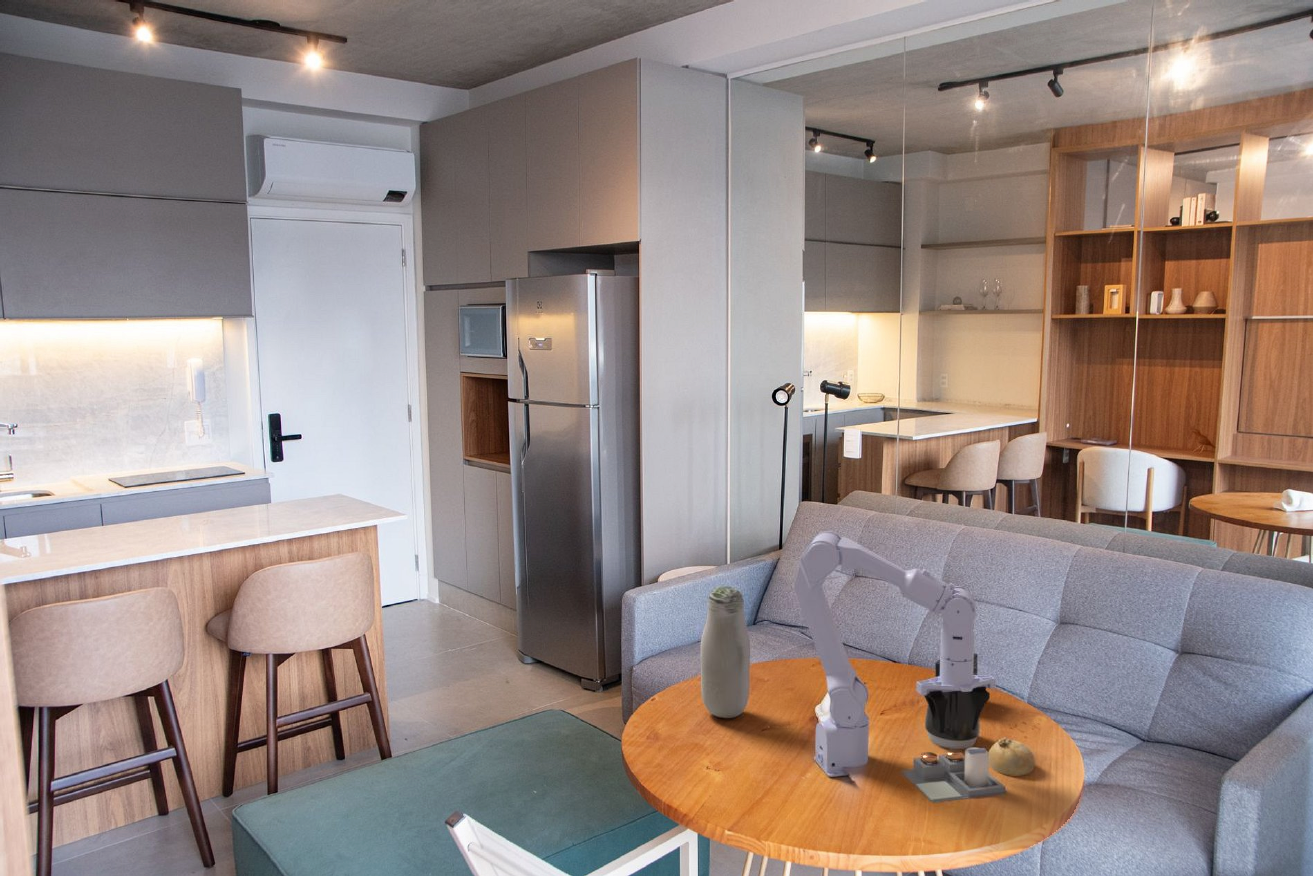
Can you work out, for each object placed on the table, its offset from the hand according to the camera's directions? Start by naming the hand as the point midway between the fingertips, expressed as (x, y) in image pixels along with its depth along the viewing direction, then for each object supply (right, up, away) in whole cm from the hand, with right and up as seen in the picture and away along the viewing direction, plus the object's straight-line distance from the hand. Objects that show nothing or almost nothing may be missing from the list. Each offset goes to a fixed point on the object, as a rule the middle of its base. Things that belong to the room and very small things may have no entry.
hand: (955, 729), depth 170 cm
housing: (-2, -10, -3) cm, 10 cm away
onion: (+11, -9, +2) cm, 15 cm away
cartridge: (+2, -8, -5) cm, 10 cm away
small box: (+12, -6, +36) cm, 38 cm away
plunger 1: (-5, -7, 0) cm, 9 cm away
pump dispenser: (+4, -8, +14) cm, 17 cm away
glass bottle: (-39, -7, +31) cm, 50 cm away
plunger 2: (0, -7, +1) cm, 7 cm away
